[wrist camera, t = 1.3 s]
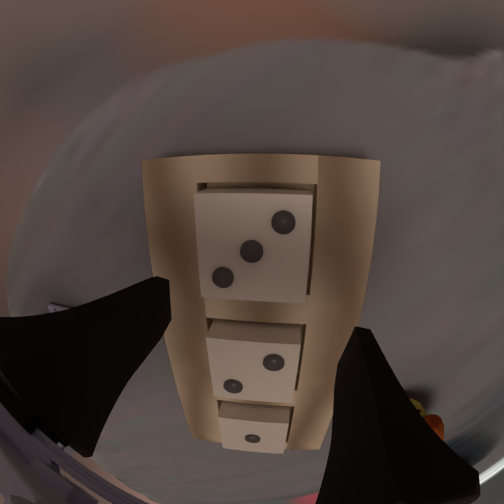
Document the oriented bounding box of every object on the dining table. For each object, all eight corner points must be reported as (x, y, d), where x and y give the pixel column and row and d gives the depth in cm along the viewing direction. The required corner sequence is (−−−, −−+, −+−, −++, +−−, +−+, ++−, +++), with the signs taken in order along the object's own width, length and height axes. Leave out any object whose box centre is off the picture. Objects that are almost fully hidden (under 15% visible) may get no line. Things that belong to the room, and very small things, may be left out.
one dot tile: (227, 429, 24) (222, 449, 22) (223, 396, 22) (216, 418, 20) (284, 434, 24) (283, 455, 21) (289, 402, 21) (288, 425, 19)
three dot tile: (212, 278, 18) (200, 298, 16) (207, 187, 16) (192, 194, 14) (303, 283, 17) (305, 305, 15) (308, 189, 15) (312, 196, 13)
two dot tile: (220, 374, 21) (213, 397, 19) (215, 316, 19) (204, 339, 17) (292, 380, 20) (292, 405, 18) (300, 322, 18) (300, 346, 16)
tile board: (199, 418, 28) (192, 437, 25) (162, 158, 18) (141, 160, 15) (318, 428, 26) (319, 449, 23) (366, 159, 16) (380, 160, 13)
